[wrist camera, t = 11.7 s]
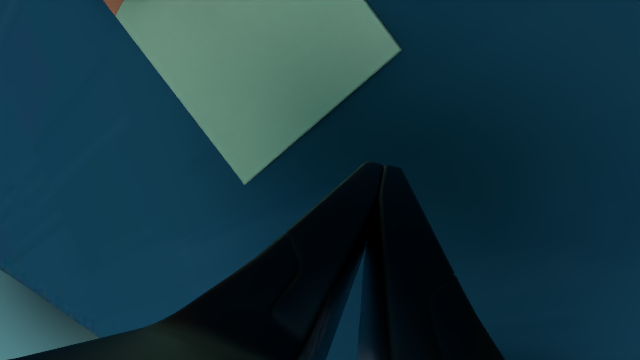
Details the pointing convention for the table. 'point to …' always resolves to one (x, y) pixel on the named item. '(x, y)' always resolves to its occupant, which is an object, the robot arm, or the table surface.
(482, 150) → the table surface
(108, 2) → the pad
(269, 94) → the board
